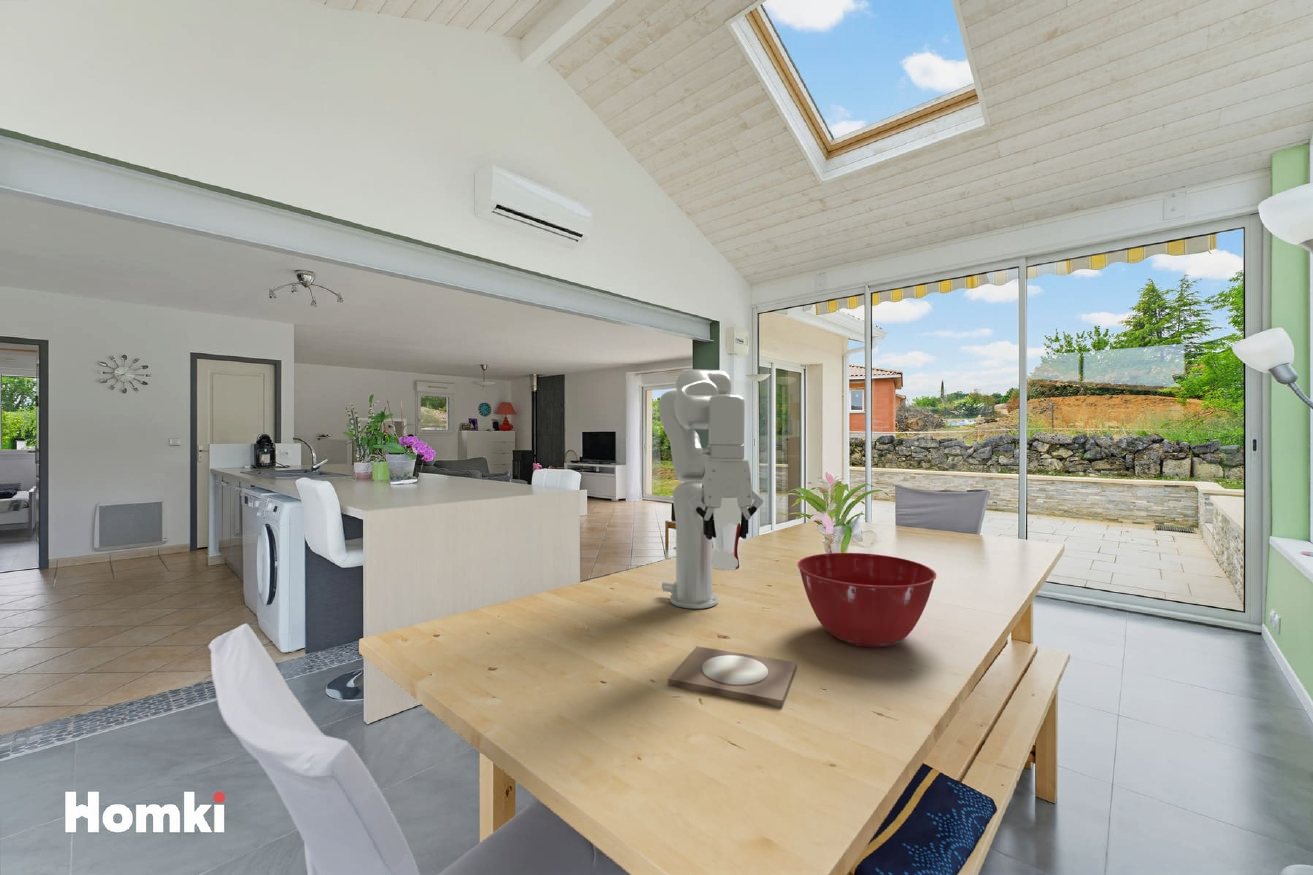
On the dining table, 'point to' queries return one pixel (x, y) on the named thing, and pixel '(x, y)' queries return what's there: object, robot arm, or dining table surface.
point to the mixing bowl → (866, 595)
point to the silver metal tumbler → (726, 534)
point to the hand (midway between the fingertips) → (725, 537)
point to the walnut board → (735, 676)
